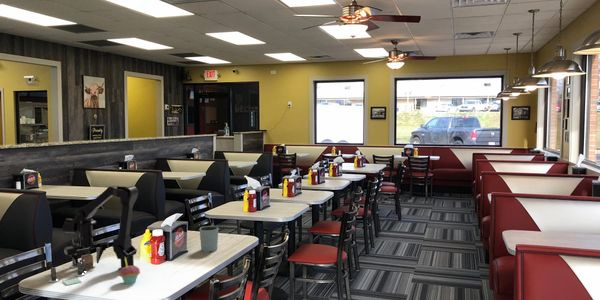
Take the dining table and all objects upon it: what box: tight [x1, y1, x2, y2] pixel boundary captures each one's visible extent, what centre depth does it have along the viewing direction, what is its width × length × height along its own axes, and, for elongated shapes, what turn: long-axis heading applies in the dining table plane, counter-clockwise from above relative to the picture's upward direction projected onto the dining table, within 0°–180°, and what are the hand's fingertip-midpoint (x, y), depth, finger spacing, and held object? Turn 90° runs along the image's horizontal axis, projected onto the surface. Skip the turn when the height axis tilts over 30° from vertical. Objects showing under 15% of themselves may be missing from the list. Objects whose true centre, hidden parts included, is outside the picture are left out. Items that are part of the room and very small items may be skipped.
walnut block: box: [80, 253, 94, 270], centre depth 224 cm, size 4×4×6 cm
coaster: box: [62, 277, 82, 286], centre depth 205 cm, size 6×6×1 cm
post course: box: [48, 257, 88, 284], centre depth 216 cm, size 19×17×6 cm
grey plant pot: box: [199, 225, 219, 253], centre depth 251 cm, size 10×10×12 cm
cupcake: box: [118, 258, 141, 285], centre depth 203 cm, size 9×8×12 cm
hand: (87, 265), depth 224 cm, fingers open, 9 cm apart
